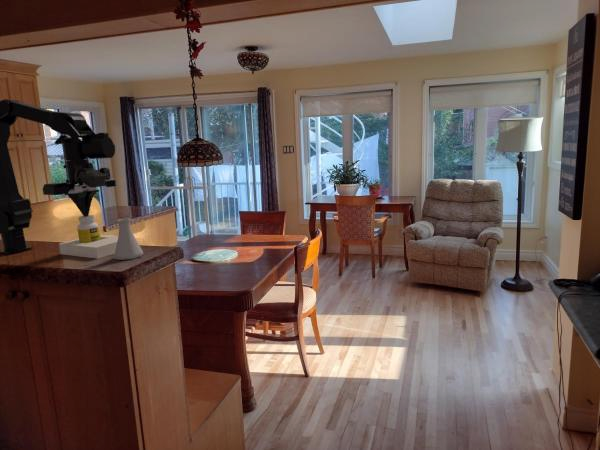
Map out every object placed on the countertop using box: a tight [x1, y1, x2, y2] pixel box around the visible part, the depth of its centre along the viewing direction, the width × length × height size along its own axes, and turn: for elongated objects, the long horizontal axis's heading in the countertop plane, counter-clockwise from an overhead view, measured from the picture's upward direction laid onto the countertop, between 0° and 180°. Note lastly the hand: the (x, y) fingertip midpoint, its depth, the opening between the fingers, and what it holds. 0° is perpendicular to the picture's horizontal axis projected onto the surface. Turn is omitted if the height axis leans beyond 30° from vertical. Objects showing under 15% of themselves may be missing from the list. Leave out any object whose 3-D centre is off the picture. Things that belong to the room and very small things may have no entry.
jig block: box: [58, 233, 119, 260], centre depth 124 cm, size 16×12×3 cm
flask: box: [113, 217, 144, 261], centre depth 114 cm, size 7×7×10 cm
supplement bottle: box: [76, 214, 100, 243], centre depth 125 cm, size 5×5×10 cm
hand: (86, 216), depth 124 cm, fingers closed
